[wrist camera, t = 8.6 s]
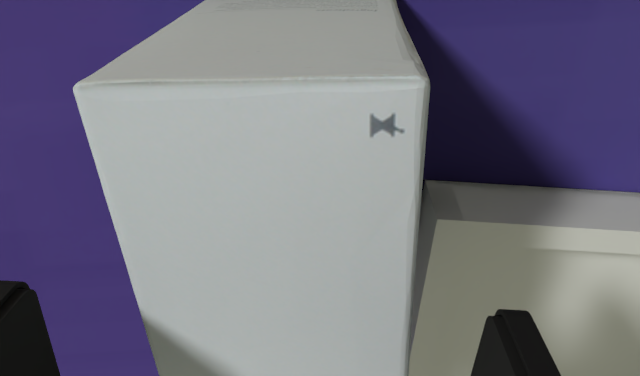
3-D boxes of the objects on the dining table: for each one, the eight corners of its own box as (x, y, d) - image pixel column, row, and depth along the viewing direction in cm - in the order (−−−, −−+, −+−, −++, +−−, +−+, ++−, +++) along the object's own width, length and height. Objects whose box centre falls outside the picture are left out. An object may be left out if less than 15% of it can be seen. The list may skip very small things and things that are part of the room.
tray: (765, 200, 20) (827, 243, 18) (614, 460, 29) (641, 514, 27) (425, 179, 20) (437, 219, 18) (378, 444, 29) (382, 496, 27)
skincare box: (206, -11, 17) (51, 80, 8) (392, -18, 17) (452, 68, 8) (242, 236, 22) (172, 462, 13) (385, 234, 22) (415, 465, 13)
